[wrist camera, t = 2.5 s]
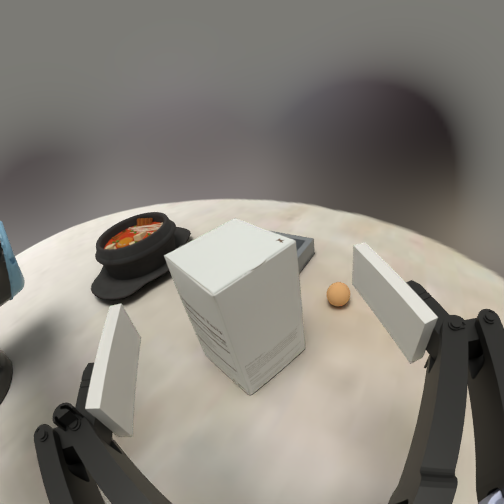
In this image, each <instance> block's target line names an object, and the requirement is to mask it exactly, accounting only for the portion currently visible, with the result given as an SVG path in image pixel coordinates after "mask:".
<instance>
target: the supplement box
mask: <svg viewBox="0 0 504 504" xmlns="http://www.w3.org/2000/svg"><path fill="white" fill-rule="evenodd" d="M164 257H165V260H166V263H167V265H168V268H169V271H170V273H171V276H172V278H173V281H174V283H175V286H176V288H177V291H178V293H179V295H180V298H181V300H182V303H183V305H184V307H185V310H186V312H187V314H188V317H189V319H190V321H191V323H192V326H193V328H194V330H195V332H196V335H197V337H198V339H199V341H200V344H201V346H202V348H203V350H204V352H205V355H206V356H207V357H208V358H209V359H210V360H211V361H212V362H213V363H215V364H216V365H217V366H218V367H219V368H220V369H221V370H222V371H223V372H224V373H225V374H226V375H227V376H228V377H229V378H231V379H232V380H233V381H234V382H235V383H236V384H237V385H238V386H239V387H240V388H242V389H243V390H244V391H245V392H246V393H247V394H249V395H252V394H253V393H254V392H256V391H257V390H258V389H259V388H260V387H262V386H263V385H264V384H265V383H267V382H268V381H269V380H270V379H271V378H272V377H274V376H275V375H276V374H277V373H278V372H279V371H281V370H282V369H283V368H284V367H285V366H286V365H288V364H289V363H290V362H291V361H292V360H293V359H294V358H295V357H296V356H298V355H299V354H300V353H301V352H302V351H303V350H304V349H305V340H304V325H303V313H302V300H301V290H300V279H299V268H298V258H297V248H296V241H295V240H293V239H290V238H287V237H284V236H282V235H279V234H276V233H273V232H271V231H268V230H265V229H263V228H260V227H257V226H255V225H252V224H250V223H248V222H245V221H242V220H239V219H236V218H234V219H232V220H230V221H228V222H226V223H224V224H223V225H221V226H219V227H217V228H215V229H213V230H211V231H209V232H207V233H205V234H204V235H202V236H200V237H198V238H196V239H194V240H192V241H190V242H189V243H187V244H185V245H183V246H181V247H179V248H177V249H176V250H174V251H172V252H170V253H168V254H166V255H164Z"/></svg>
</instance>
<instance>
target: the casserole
mask: <svg viewBox="0 0 504 504" xmlns="http://www.w3.org/2000/svg"><path fill="white" fill-rule="evenodd" d="M190 234H191V233H190V231H189V230H187V229H185V228H181V227H176V225H175V223H174V222H173V221H171V220H169V218H168V217H167V216H166V215H165V214H163V213H159V212H151V213H144V214H140V215H136V216H133V217H130V218H128V219H125V220H123V221H121V222H119V223H117V224H116V225H114V226H112V227H111V228H109V229H108V230H107V231H105V232H104V233H103V234H102V235H101V236H100V237H99V239H98V240H97V243H96V250H97V251H96V254H95V257H96V260H97V261H98V262H99V263H100V264H103V268H102V270H101V272H100V274H99V275H98V276H97V278H96V279H95V280H94V282H93V283H92V286H91V291H92V293H93V294H94V295H95V296H97V297H99V298H101V299H107V300H115V299H121V298H125V297H127V296H129V295H131V294H133V293H135V292H136V291H137V290H139V289H140V288H141V287H143V286H144V285H145V284H147V283H149V282H150V281H152V280H154V279H156V278H158V277H160V276H161V275H163V274H165V273H166V272H167V271H169V268H168V265H167V263H166V260H165V257H164V255H166V254H168V253H170V252H172V251H174V250H176V249H177V248H179V247H181V246H183V245H185V244H187V240H188V238H189V236H190Z"/></svg>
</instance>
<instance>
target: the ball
mask: <svg viewBox="0 0 504 504" xmlns="http://www.w3.org/2000/svg"><path fill="white" fill-rule="evenodd" d="M349 298H350V290H349V288H348V286H347V285H346V284H344V283H341V282H336V283H333V284H332V285H331V286H330V287H329V288H328V290H327V299H328V301H329V302H330V303H331V304H332V305H334V306H342V305H344V304H346V303H347V302H348V300H349Z"/></svg>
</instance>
